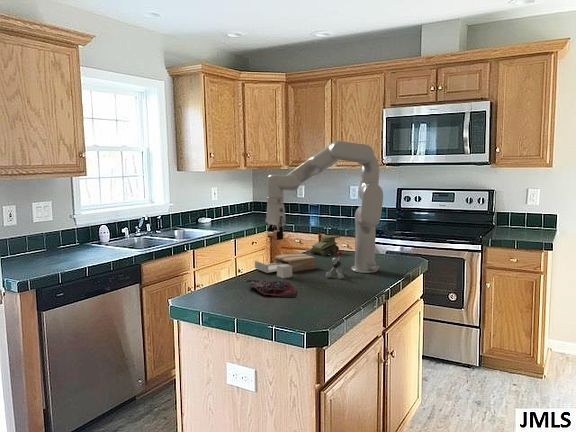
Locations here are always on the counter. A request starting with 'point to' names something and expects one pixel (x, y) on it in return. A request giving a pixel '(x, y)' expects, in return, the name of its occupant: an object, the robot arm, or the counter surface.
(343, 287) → the counter surface
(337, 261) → the molecular model
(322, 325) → the counter surface
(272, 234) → the peach dome
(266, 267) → the tray
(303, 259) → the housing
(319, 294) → the counter surface
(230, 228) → the counter surface
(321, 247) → the toy
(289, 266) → the block
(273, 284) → the fabric swatch
